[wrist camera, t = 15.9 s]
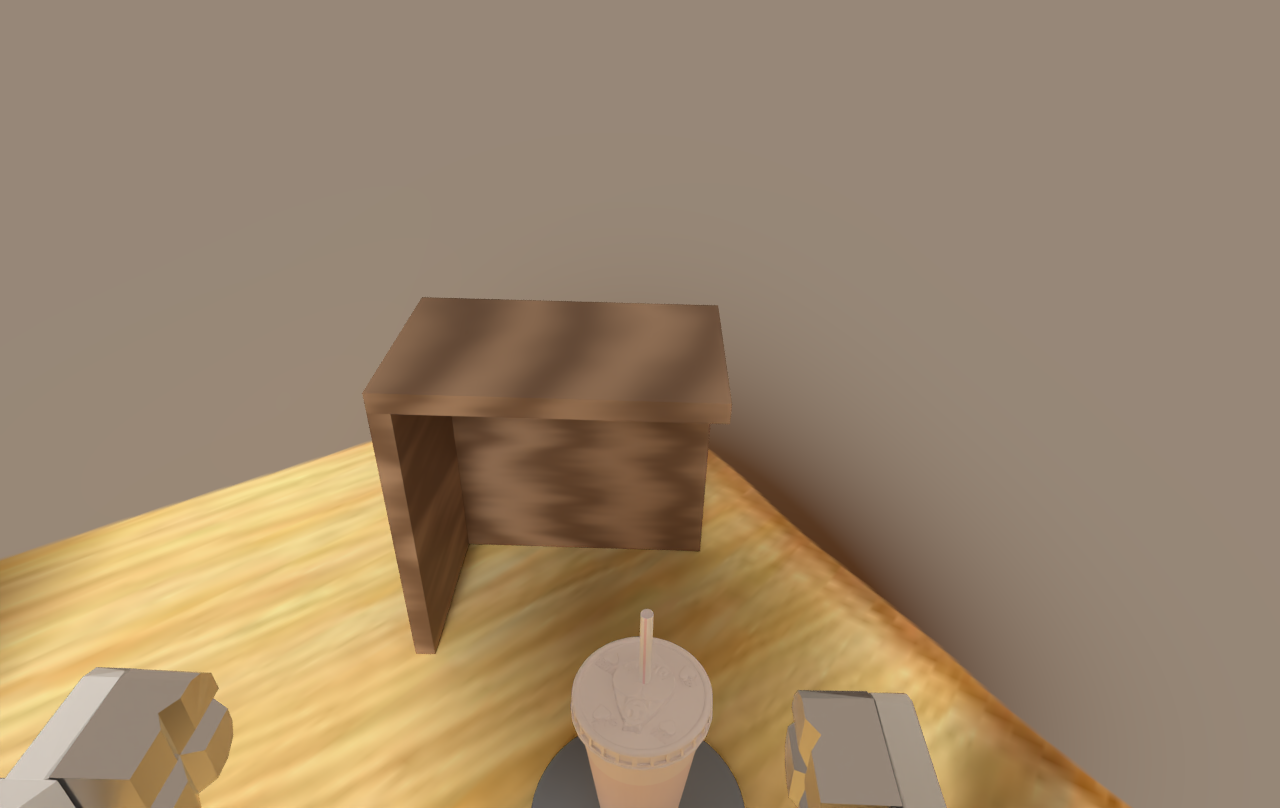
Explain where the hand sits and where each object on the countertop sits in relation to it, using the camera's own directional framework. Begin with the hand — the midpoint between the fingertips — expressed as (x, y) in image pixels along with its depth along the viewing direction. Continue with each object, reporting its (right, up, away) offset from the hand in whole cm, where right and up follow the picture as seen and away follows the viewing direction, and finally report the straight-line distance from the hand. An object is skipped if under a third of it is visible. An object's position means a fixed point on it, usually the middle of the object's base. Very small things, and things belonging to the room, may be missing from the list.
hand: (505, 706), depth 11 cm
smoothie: (+2, -17, +29) cm, 33 cm away
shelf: (-3, -9, +42) cm, 43 cm away
